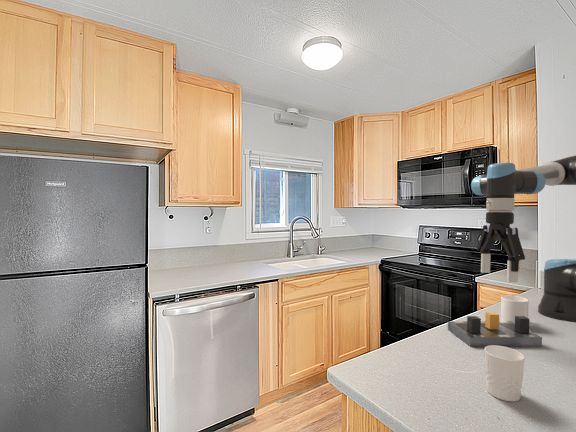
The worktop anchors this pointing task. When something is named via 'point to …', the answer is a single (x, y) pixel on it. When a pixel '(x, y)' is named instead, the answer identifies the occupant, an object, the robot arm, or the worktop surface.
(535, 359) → the worktop surface
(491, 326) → the toggle
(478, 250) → the robot arm
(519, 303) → the mug
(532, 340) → the panel
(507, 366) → the white cup
